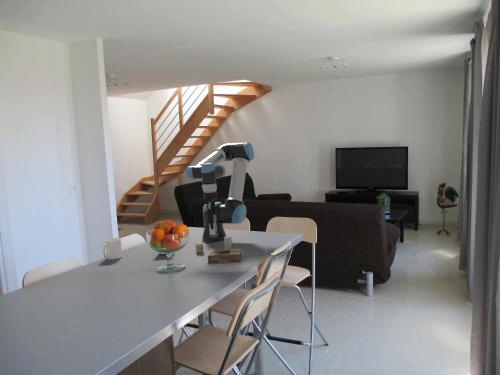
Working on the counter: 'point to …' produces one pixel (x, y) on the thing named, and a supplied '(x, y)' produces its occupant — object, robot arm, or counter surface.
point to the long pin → (215, 227)
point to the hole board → (225, 256)
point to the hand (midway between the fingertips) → (213, 233)
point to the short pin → (199, 248)
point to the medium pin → (228, 242)
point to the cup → (112, 248)
